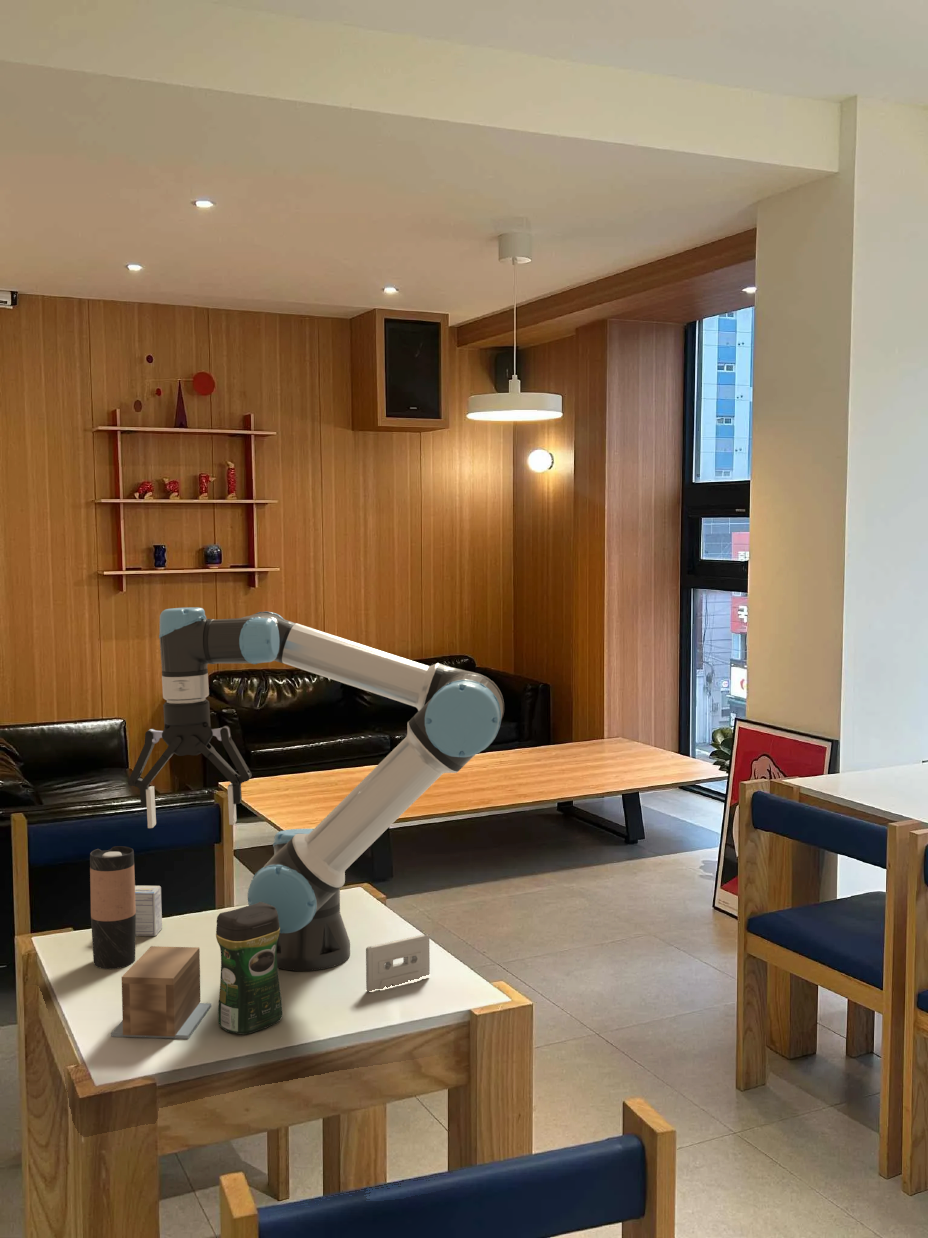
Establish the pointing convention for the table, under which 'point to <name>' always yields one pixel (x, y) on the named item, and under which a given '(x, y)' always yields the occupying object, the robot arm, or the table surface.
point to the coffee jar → (249, 968)
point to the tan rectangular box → (161, 991)
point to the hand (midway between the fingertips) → (192, 824)
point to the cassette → (409, 969)
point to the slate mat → (185, 1029)
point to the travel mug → (113, 907)
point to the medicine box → (148, 910)
